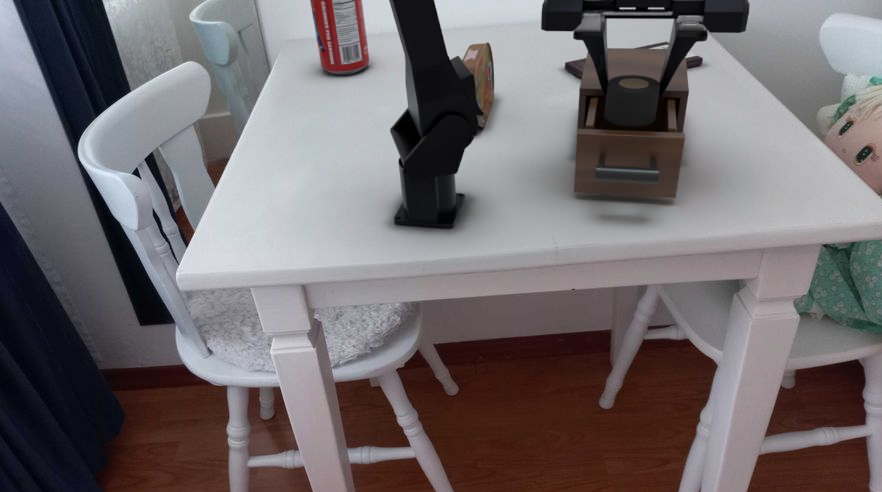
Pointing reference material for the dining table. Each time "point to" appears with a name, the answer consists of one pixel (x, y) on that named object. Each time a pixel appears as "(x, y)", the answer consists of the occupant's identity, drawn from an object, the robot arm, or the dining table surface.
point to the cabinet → (634, 64)
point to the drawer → (629, 154)
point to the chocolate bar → (578, 65)
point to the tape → (631, 100)
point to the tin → (482, 76)
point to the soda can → (340, 35)
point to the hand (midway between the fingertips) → (632, 94)
